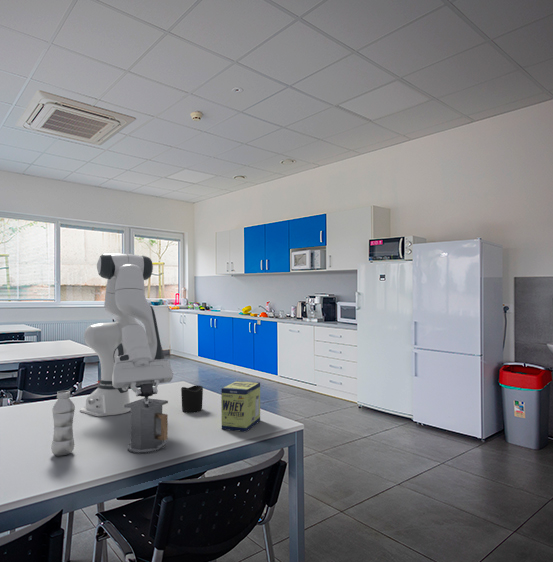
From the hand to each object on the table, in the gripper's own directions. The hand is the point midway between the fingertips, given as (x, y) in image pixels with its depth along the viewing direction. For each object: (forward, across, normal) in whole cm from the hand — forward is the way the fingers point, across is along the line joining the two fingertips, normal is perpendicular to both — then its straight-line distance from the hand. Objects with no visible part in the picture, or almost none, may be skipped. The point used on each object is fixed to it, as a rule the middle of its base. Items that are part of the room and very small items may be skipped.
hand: (147, 394), depth 144 cm
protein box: (+9, -38, -17) cm, 43 cm away
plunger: (+10, 0, -11) cm, 16 cm away
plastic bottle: (+7, +24, -19) cm, 32 cm away
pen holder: (-13, -29, -38) cm, 50 cm away
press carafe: (+12, 0, -13) cm, 18 cm away
